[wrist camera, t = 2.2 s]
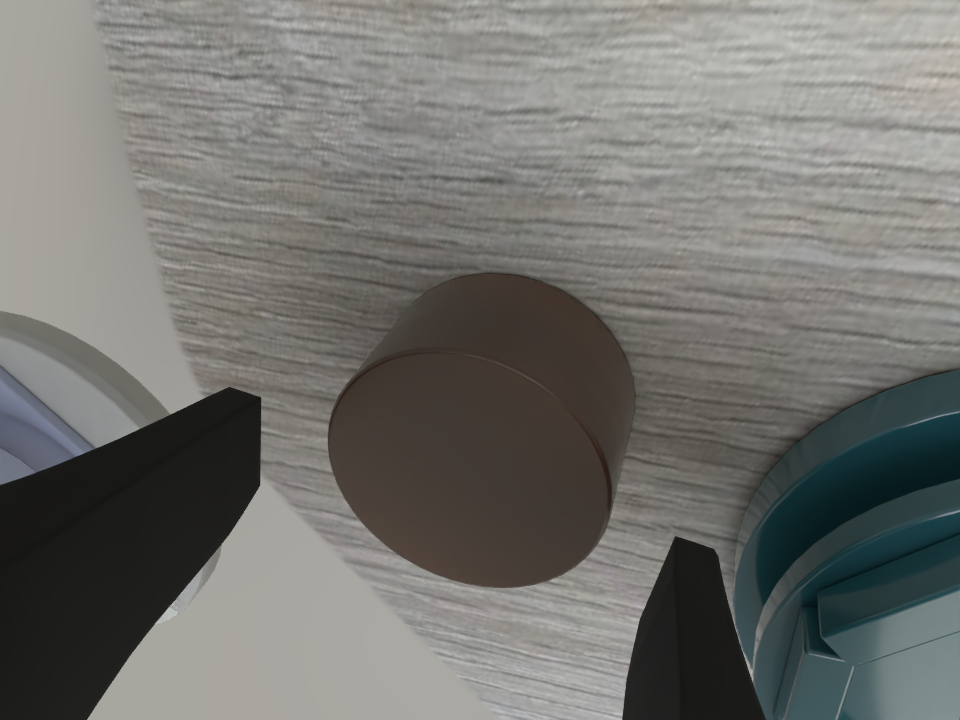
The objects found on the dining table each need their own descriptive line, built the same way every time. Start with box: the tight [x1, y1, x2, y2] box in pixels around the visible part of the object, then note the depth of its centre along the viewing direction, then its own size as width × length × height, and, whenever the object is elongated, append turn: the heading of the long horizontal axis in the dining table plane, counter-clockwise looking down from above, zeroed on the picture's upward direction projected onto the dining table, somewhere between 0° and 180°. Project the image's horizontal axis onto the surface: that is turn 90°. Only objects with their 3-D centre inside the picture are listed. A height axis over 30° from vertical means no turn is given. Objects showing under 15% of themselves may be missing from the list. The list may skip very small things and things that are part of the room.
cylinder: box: [328, 274, 635, 588], centre depth 15 cm, size 5×5×3 cm
